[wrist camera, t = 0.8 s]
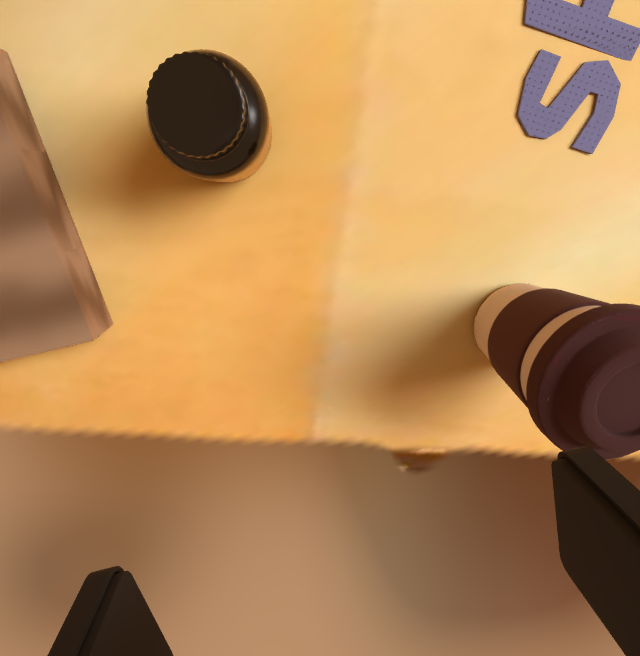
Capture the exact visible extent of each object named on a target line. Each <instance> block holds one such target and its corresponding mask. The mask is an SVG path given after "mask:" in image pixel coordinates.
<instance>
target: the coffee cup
mask: <svg viewBox="0 0 640 656" xmlns="http://www.w3.org/2000/svg"><path fill="white" fill-rule="evenodd" d="M474 336H475V340H476V343H477V345H478V347H479V349H480V350H481V351H482V352H483V354H484V355H485V356H486V357H487V358H488V359H489V360H490V362H491V364H492V366H493V368H494V369H495V371H496V372H497V373H498V375H499V376H500V377H501V378H502V379H503V380H504V381H505V383H506V384H507V385H508V386H509V387H510V388H511V389H512V391H513V392H514V393H515V394H516V395H517V396H518V397H519V399H520V400H521V401H522V402H523V403H524V404H525V405H526V407H527V408H528V409H529V412H530V415H531V417H532V419H533V421H534V423H535V424H536V426H537V427H538V428H539V430H540V431H541V432H542V433H543V434H544V435H545V436H546V437H547V438H548V439H549V440H550V441H551V442H552V443H553V444H554V445H556V446H557V447H558V448H560V449H561V450H563V451H565V450H569V449H573V448H577V447H581V446H585V445H586V446H589V447H591V448H592V449H593V450H594V451H596V452H597V453H598V454H599V455H600V456H601V457H602V458H603V459H611V458H618V457H622V456H626V455H628V454H631V453H633V452H636V451H638V450H640V306H638V305H633V304H609V303H606V302H602V301H598V300H595V299H591V298H587V297H584V296H580V295H577V294H573V293H569V292H566V291H562V290H557V289H545V288H541V287H538V286H534V285H530V284H512V285H508V286H505V287H503V288H500V289H499V290H497V291H495V292H494V293H493V294H491V295H490V296H489V297H488V298H487V299H486V300H485V301H484V302H483V304H482V305H481V307H480V308H479V310H478V313H477V315H476V318H475V322H474Z"/></svg>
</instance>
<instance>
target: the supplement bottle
mask: <svg viewBox="0 0 640 656" xmlns="http://www.w3.org/2000/svg"><path fill="white" fill-rule="evenodd" d="M147 96H148V97H147V101H146V103H147V105H146V113H147V121H148V126H149V130H150V133H151V136H152V138H153V140H154V142H155V144H156V146H157V148H158V149H159V151H160V152H161V154H162V155H163V156H164V157H165V158H166V159H167V160H168V161H169V162H170V163H171V164H172V165H173V166H174V167H176V168H177V169H179V170H180V171H182V172H184V173H185V174H187V175H190V176H192V177H195V178H198V179H202V180H209V181H217V182H235V181H239V180H243V179H245V178H247V177H249V176H251V175H252V174H253V173H255V172H256V171H257V170H258V169H259V168H260V167H261V165H262V164H263V163H264V161H265V159H266V157H267V155H268V153H269V150H270V146H271V138H272V131H271V123H270V118H269V113H268V108H267V104H266V100H265V97H264V95H263V92H262V90H261V88H260V86H259V84H258V83H257V81H256V80H255V78H254V77H253V75H252V74H251V73H250V72H249V71H248V70H247V69H246V68H245V67H244V66H243V65H242V64H241V63H239V62H238V61H237V60H235V59H234V58H232V57H230V56H228V55H226V54H223V53H221V52H217V51H213V50H203V49H200V50H191V51H187V52H183V53H181V54H175V55H174V56H173V57H171V58H167V59H166V60H165V62H164V63H162V64H160V65H159V67H158V70H156V71H155V72H154V73H153V78H152V79H151V80H150V81H149V88H148V90H147Z"/></svg>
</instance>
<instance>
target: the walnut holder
mask: <svg viewBox="0 0 640 656" xmlns="http://www.w3.org/2000/svg"><path fill="white" fill-rule="evenodd" d="M112 325H113V322H112V319H111V317H110V314H109V312H108V309H107V307H106V304H105V301H104V299H103V296H102V294H101V291H100V289H99V286H98V283H97V281H96V278H95V276H94V273H93V271H92V268H91V266H90V263H89V260H88V258H87V255H86V253H85V250H84V248H83V245H82V243H81V240H80V237H79V235H78V232H77V230H76V227H75V225H74V222H73V219H72V217H71V214H70V212H69V209H68V207H67V204H66V202H65V199H64V196H63V194H62V191H61V189H60V186H59V184H58V181H57V178H56V176H55V173H54V171H53V168H52V166H51V163H50V161H49V158H48V155H47V153H46V150H45V148H44V145H43V143H42V140H41V137H40V135H39V132H38V130H37V127H36V125H35V122H34V120H33V117H32V114H31V112H30V109H29V107H28V104H27V102H26V99H25V96H24V94H23V91H22V89H21V86H20V84H19V81H18V79H17V76H16V73H15V71H14V68H13V66H12V63H11V61H10V58H9V56H8V53H7V52H6V51H4V50H1V49H0V362H3V361H8V360H12V359H16V358H20V357H25V356H29V355H33V354H37V353H42V352H46V351H50V350H55V349H59V348H63V347H67V346H72V345H76V344H80V343H84V342H89V341H93V340H95V339H96V338H97V337H98V336H100V335H101V334H102V333H103V332H104V331H106V330H107V329H108V328H109V327H110V326H112Z"/></svg>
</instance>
